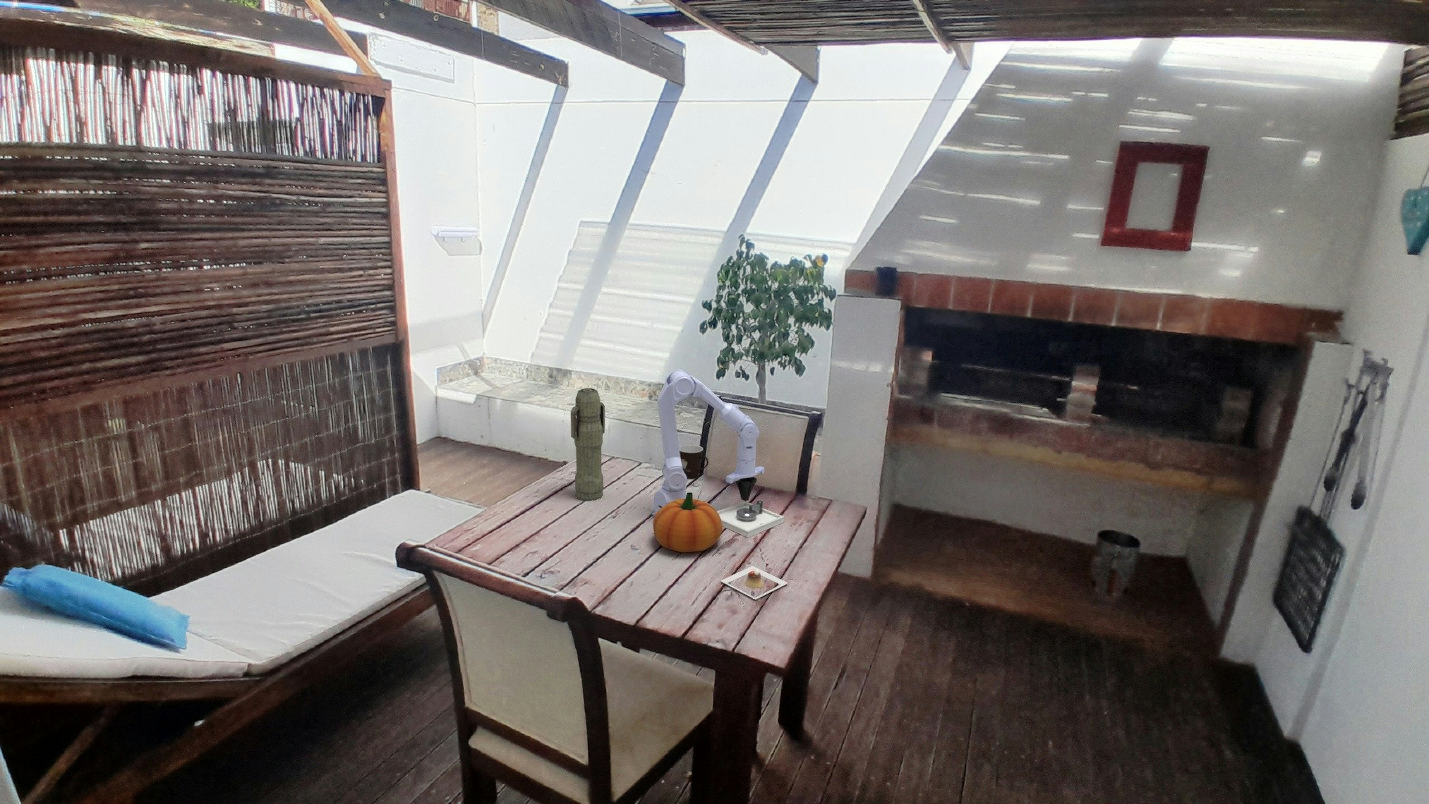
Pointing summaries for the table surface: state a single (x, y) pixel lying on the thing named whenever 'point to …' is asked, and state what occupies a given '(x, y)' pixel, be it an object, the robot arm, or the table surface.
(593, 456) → the green carved statue
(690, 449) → the coffee mug
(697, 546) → the pumpkin
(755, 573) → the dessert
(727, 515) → the board
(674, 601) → the table surface
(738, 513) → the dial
